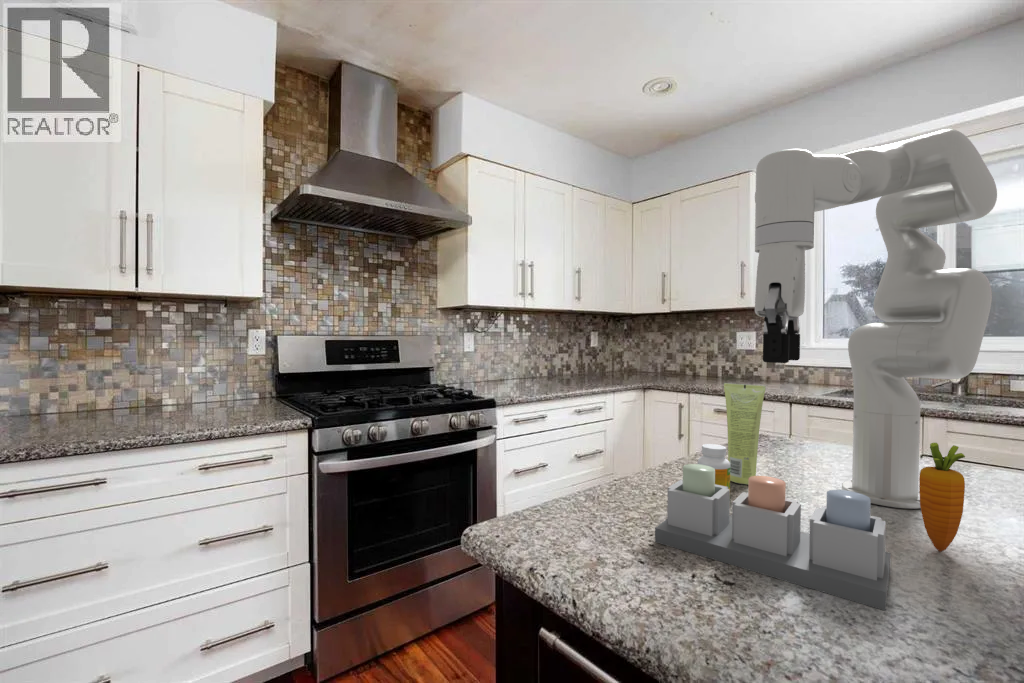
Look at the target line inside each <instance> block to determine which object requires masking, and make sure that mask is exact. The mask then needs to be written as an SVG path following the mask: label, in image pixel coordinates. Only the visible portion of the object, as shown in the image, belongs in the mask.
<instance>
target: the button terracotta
mask: <svg viewBox="0 0 1024 683" xmlns="http://www.w3.org/2000/svg"><path fill="white" fill-rule="evenodd" d="M786 484H787V483H786V482H785V480H782V479H779V478H777V477H773V476H767V475H756V476H751V477H749V483H748V484H747V485H748V487H747V488H748V491H747V492H748V505H749V506H753V507H758V508H762V509H767V510H771V511H776V512H781V513H785V498H786V487H787V486H786Z"/></svg>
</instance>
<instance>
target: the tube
mask: <svg viewBox="0 0 1024 683" xmlns="http://www.w3.org/2000/svg"><path fill="white" fill-rule="evenodd" d="M766 388H767V387H766V385H762V384H761V385H757V384H742V383H728V382H724V383H723V391H724V398H725V407H726V408H725V410H726V422H727V460H728V461H729V462H730V482H732V483H736V484H739V485H748V483H749V477H751V476H757V463H758V462H757V461H758V450H759V448H758V447H759V439H760V429H761V426H760V425H761V419H762V411H763V405H764V403H763V402H764V397H765V394H766V393H765V392H766Z"/></svg>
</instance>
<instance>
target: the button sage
mask: <svg viewBox="0 0 1024 683" xmlns="http://www.w3.org/2000/svg"><path fill="white" fill-rule="evenodd" d="M682 480H683V491H685V492H689V493H694V494H698V495H703V496H707V497H712V496H713V495H715V469H714V468H712V467H710V466H706V465H700V464H697V463H689V464H685V465H684V464H683V466H682Z"/></svg>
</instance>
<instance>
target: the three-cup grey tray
mask: <svg viewBox="0 0 1024 683" xmlns="http://www.w3.org/2000/svg"><path fill="white" fill-rule="evenodd" d="M730 503H731V488H730V489H728V487H726V486H721V485H716V484H715V495H713V496H712V497H707V496H703V495H698V494H694V493H689V492H685V491H683V479H679V480H678V481H676V482H675V483H673V484H671V485H669V486H668V487H667V504H666V505H667V510H666V512H667V514H666V517H667V518H666V519H665V520H664V521H663V522H661V523H660V524H658V525H657V526H656V527H655V528H654V542H655V543H658V544H660V545H661V544H662V545H665V546H667V547H670V548H674V549H678V550H681V551H684V552H686V553H687V552H688V553H691V554H694V555H698V556H701V557H705V558H707V559H711V560H714V561H717V562H721V563H725V564H728V565H732V566H734V567H738V568H742V569H744V570H748V571H752V572H755V573H758V574H761V575H765V576H768V577H771V578H775V579H779V580H781V581H785V582H788V583H791V584H795V585H797V586H802V587H805V588H809V589H812V590H815V591H817V592H822V593H825V594H829V595H832V596H835V597H839V598H843V599H845V600H848V601H853V602H856V603H859V604H862V605H866V606H869V607H873V608H876V609H879V610H883V611H886V609H887V600H888V591H889V581H890V574H891V553H892V552H888V551H886V546H887V545H886V544H887V543H886V541H887V540H886V536H887V533H886V531H887V520H882V517H880V516H876V515H875V516H874V515H870V532H867V531H863V530H858V529H854V528H849V527H845V526H840V525H835V524H831V523H826V506H825V505H822V506H821V507H818V506H816V507H815V509H814V510H813V513H812V514H811V516H810V518H809V533H807V532H804V531H801V523H802V522H801V520H802V519H801V518H802V517H801V516H802V503H799V501H798V500H795V499H790V498H786V497H785V513H781V512H776V511H771V510H767V509H762V508H758V507H753V506H749V505H748V491H747V492H745V491H743V492H741V493H740V494H739V495H738V496H737V497H736V498H735V499H734V500H733V501H732V506H731V507H732V510H731V511H730V508H731V507H730V505H731V504H730ZM730 512H731V515H730Z"/></svg>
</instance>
